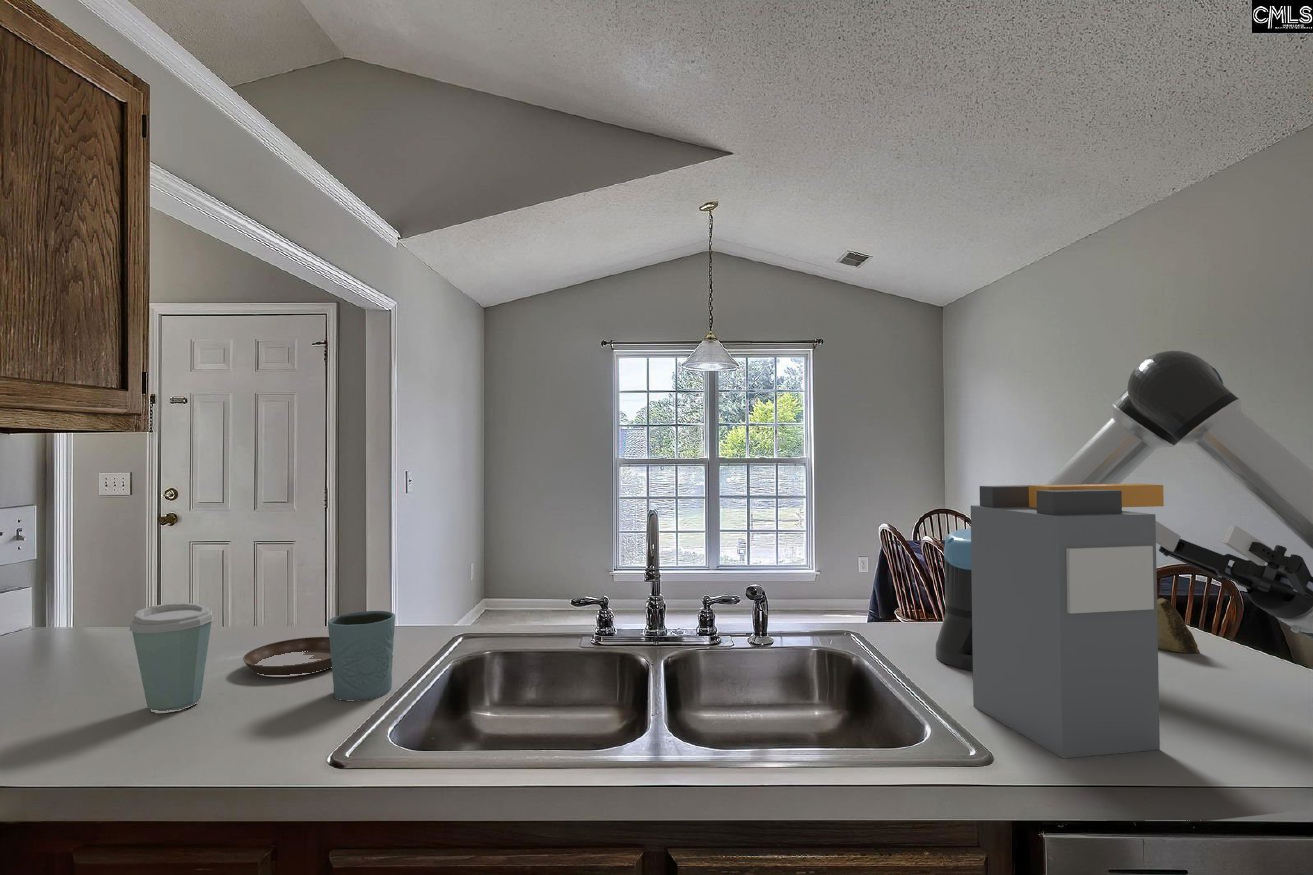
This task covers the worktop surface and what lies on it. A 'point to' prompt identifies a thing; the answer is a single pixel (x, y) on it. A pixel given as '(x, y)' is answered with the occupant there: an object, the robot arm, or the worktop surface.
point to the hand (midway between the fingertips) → (1182, 528)
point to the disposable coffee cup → (172, 653)
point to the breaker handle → (1130, 492)
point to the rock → (1173, 630)
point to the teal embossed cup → (362, 654)
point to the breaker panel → (1066, 619)
